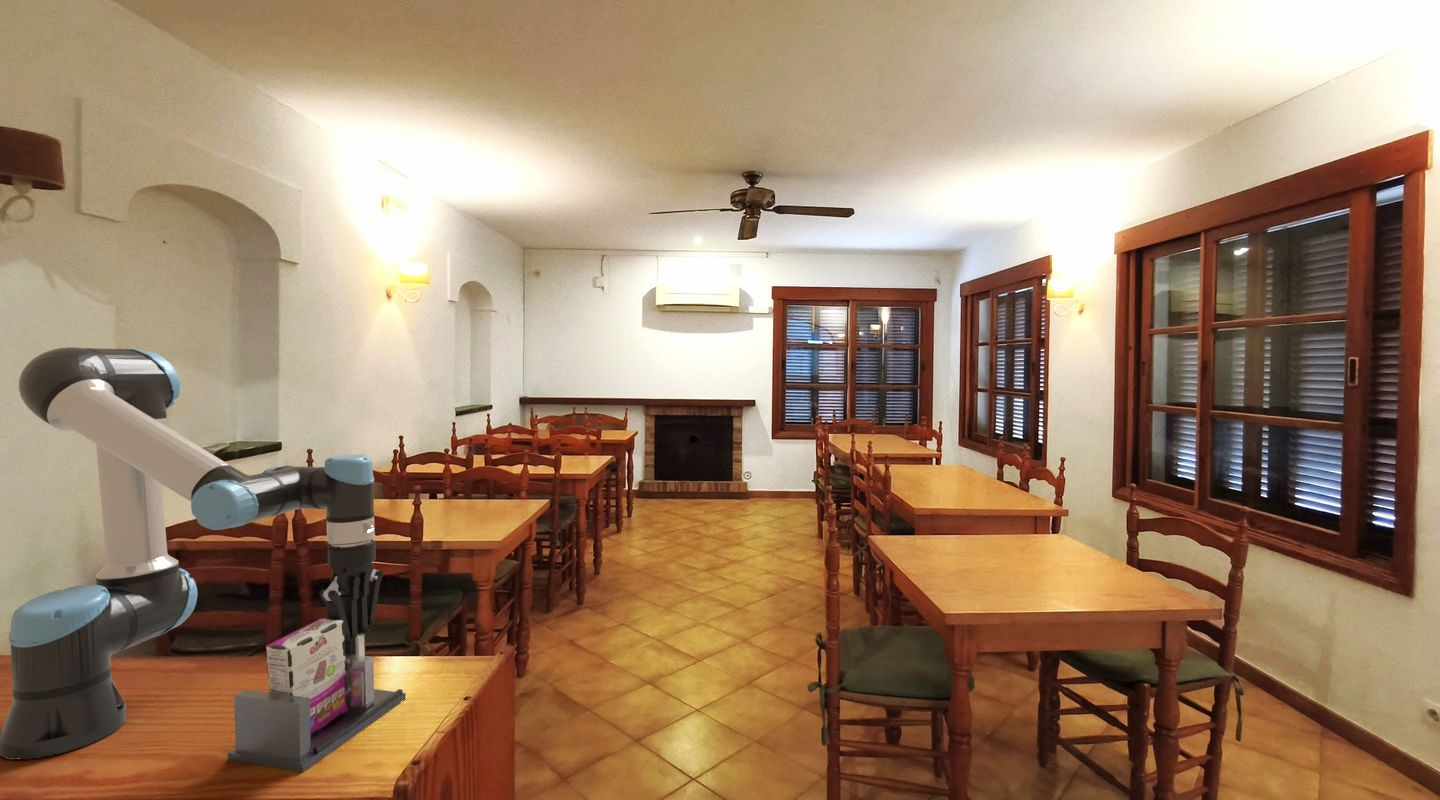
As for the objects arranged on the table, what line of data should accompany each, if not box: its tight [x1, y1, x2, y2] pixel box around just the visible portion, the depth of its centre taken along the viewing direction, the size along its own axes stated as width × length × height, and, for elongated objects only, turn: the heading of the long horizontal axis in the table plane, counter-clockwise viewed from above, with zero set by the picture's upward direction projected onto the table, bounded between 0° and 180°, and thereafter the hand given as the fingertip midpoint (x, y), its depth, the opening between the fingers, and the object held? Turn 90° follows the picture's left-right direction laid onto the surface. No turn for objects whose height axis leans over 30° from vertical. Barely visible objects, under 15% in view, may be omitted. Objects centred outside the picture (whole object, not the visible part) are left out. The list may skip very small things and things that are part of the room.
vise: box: [226, 688, 406, 773], centre depth 113 cm, size 14×23×10 cm, turn 168°
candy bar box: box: [265, 617, 348, 736], centre depth 110 cm, size 11×5×16 cm, turn 167°
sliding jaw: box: [345, 654, 375, 712], centre depth 120 cm, size 11×8×9 cm
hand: (355, 670), depth 120 cm, fingers closed
